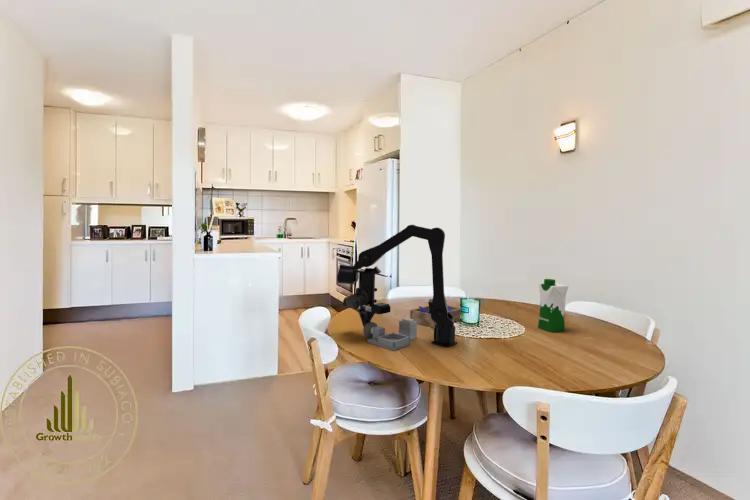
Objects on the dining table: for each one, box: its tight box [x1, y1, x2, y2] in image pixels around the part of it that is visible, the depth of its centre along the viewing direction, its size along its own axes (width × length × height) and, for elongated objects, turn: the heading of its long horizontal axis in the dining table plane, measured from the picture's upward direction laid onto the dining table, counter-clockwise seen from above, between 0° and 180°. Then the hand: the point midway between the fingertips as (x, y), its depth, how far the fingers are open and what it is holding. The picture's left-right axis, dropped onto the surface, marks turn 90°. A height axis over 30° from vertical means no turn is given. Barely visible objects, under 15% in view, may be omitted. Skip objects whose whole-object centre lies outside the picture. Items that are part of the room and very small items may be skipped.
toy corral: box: [409, 305, 462, 329], centre depth 169 cm, size 13×20×5 cm, turn 137°
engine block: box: [398, 317, 418, 341], centre depth 144 cm, size 5×4×7 cm
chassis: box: [366, 325, 411, 351], centre depth 137 cm, size 14×8×5 cm, turn 47°
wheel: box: [362, 321, 379, 339], centre depth 142 cm, size 2×6×6 cm, turn 137°
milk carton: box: [537, 278, 569, 333], centre depth 159 cm, size 9×9×20 cm
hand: (365, 328), depth 144 cm, fingers closed
